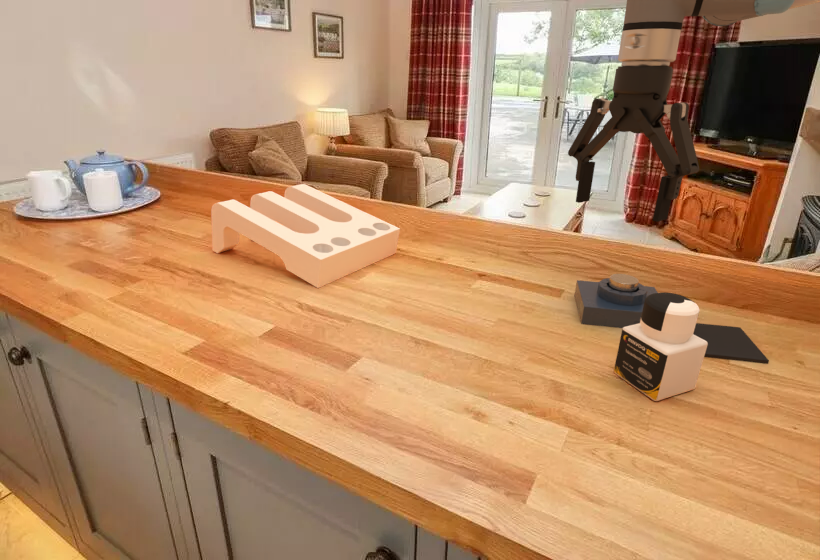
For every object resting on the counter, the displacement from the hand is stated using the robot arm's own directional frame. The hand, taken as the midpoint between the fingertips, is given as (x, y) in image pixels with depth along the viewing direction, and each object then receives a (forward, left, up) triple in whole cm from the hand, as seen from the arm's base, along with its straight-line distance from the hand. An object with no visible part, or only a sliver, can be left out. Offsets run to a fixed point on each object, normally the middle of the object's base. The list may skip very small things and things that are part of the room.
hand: (618, 210), depth 78 cm
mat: (-15, +9, -17) cm, 25 cm away
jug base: (-2, +2, -17) cm, 18 cm away
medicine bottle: (-3, +22, -17) cm, 28 cm away
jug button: (-2, +2, -13) cm, 13 cm away
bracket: (+60, -14, -17) cm, 64 cm away
